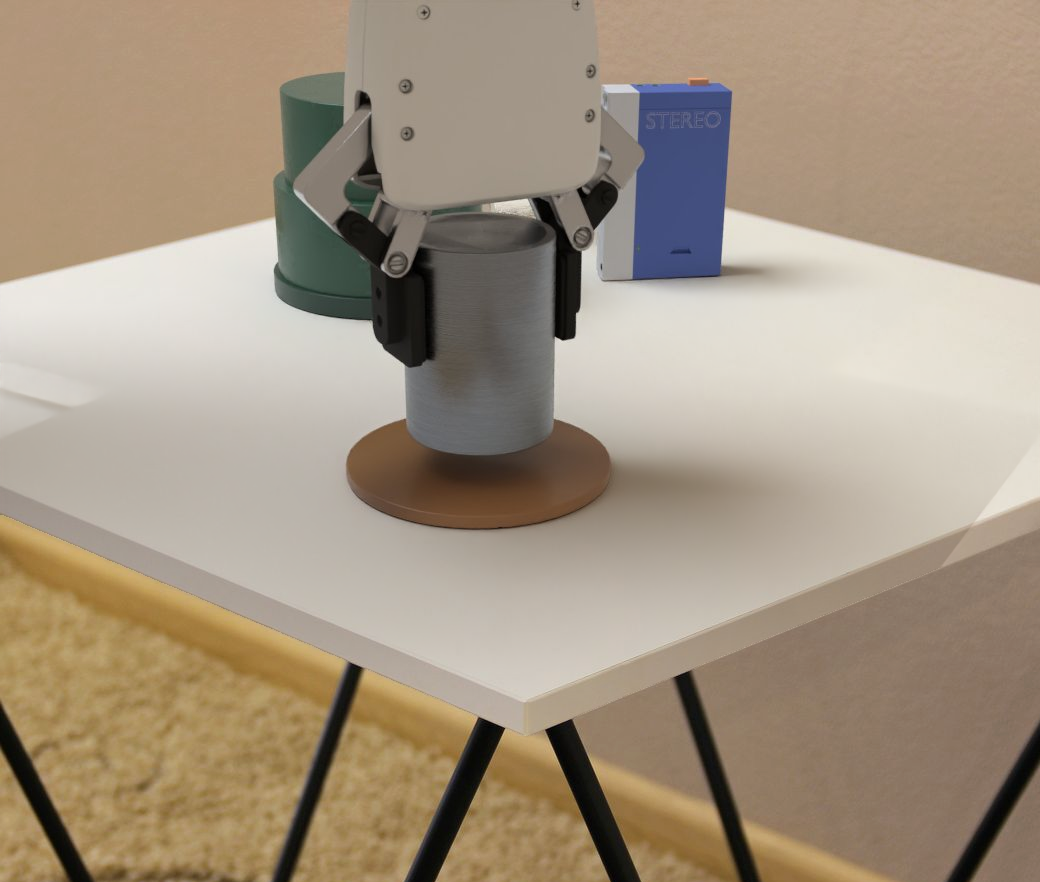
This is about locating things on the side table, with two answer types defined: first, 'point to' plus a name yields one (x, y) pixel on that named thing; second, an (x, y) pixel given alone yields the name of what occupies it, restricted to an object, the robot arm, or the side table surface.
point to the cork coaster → (478, 479)
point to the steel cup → (485, 335)
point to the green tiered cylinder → (300, 232)
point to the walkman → (668, 181)
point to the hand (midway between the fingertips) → (479, 340)
